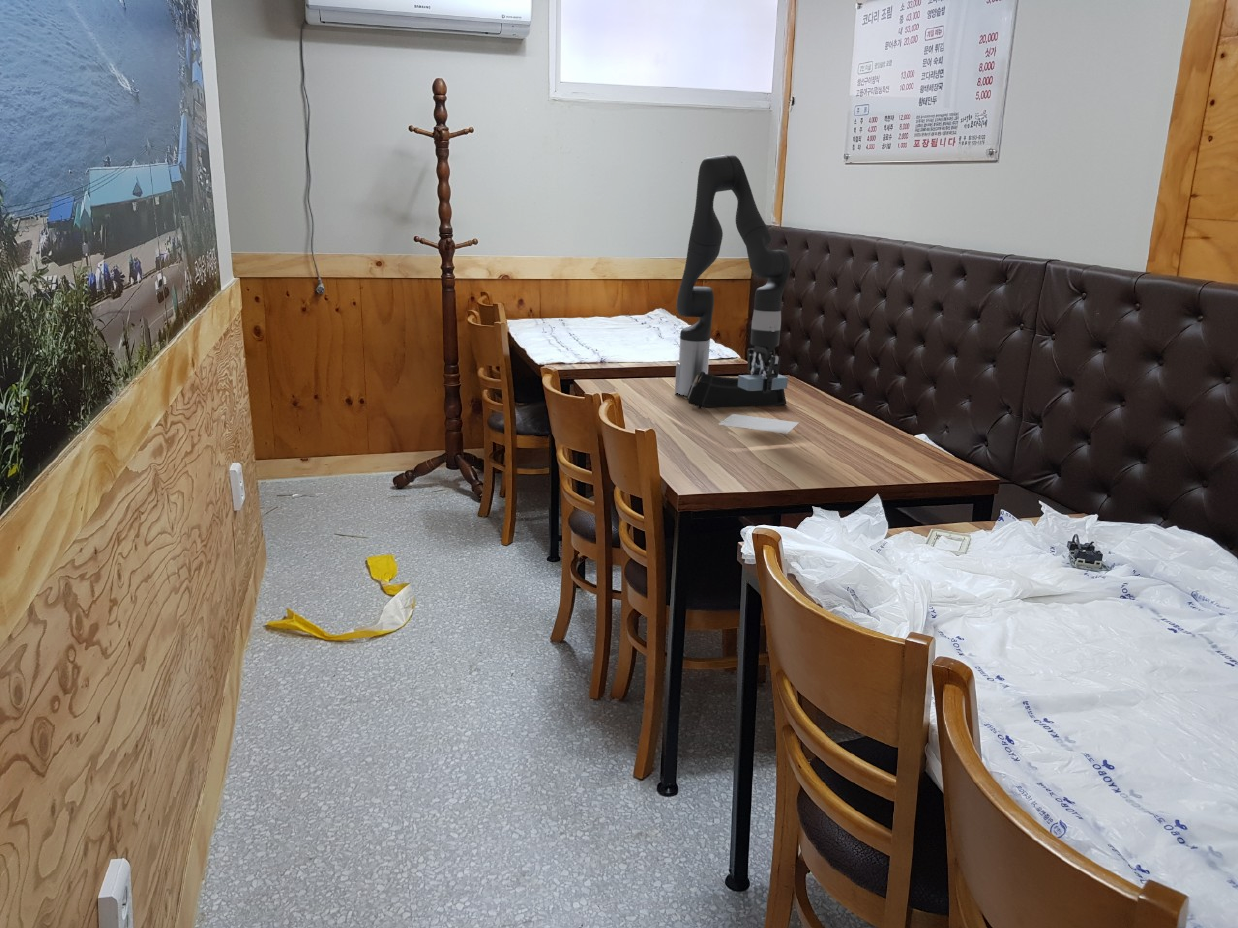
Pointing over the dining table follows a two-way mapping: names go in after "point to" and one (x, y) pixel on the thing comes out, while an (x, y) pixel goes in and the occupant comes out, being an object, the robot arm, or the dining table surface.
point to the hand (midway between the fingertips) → (761, 390)
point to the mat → (759, 423)
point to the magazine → (729, 393)
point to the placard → (760, 382)
